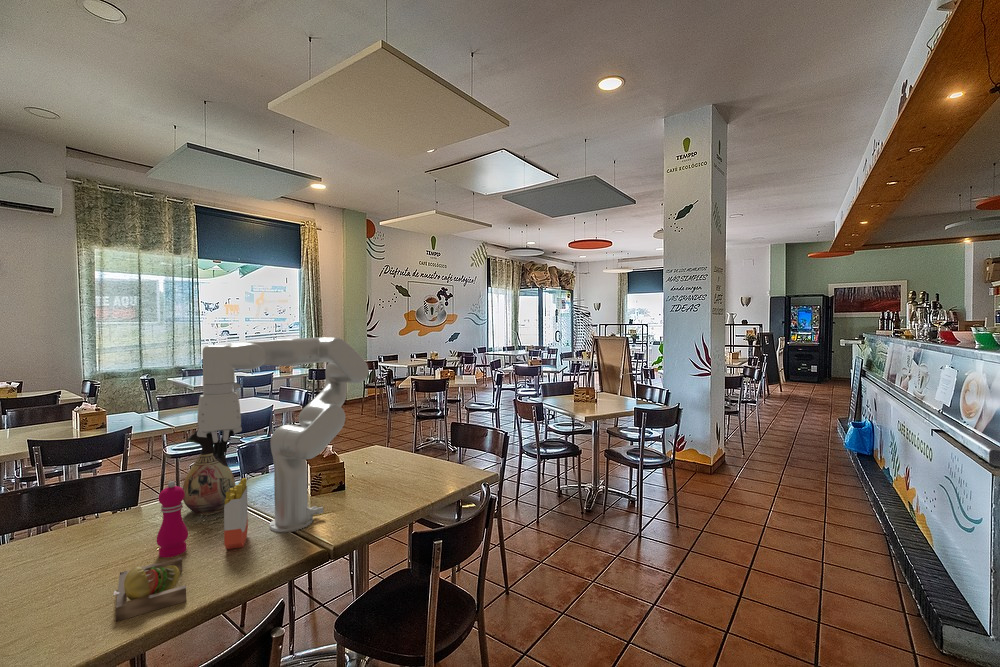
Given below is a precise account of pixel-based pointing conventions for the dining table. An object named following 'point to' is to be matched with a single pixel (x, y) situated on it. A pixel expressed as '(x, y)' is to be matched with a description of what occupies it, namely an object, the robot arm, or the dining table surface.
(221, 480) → the ceramic jug
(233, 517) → the french fries container
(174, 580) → the hamburger
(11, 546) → the dining table surface
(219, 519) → the dining table surface
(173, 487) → the pepper mill
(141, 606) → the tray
